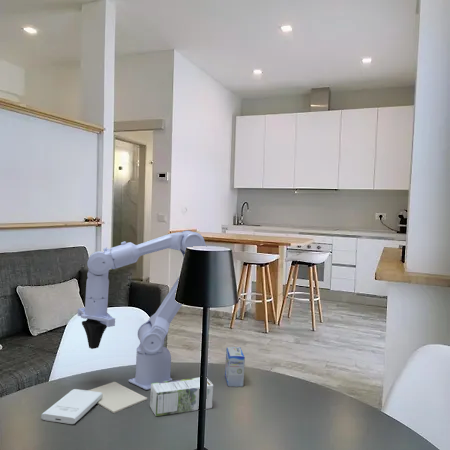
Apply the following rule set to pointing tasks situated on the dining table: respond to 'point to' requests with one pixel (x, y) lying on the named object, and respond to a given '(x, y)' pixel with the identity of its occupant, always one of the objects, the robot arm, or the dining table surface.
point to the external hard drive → (72, 406)
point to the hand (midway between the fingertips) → (93, 347)
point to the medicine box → (234, 367)
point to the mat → (117, 397)
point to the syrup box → (178, 396)
